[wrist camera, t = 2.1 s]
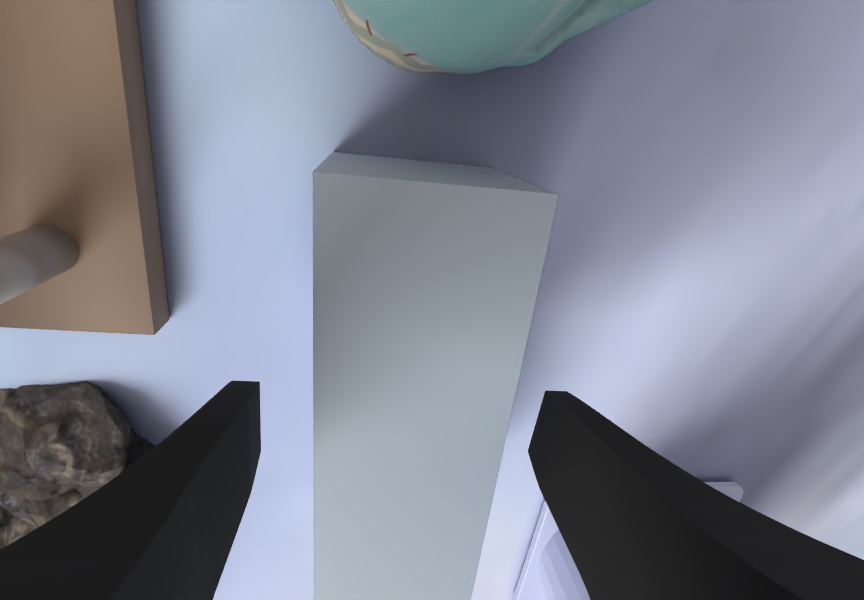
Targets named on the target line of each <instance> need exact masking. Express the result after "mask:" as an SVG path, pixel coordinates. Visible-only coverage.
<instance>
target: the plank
mask: <svg viewBox="0 0 864 600" xmlns="http://www.w3.org/2000/svg"><path fill="white" fill-rule="evenodd" d="M558 197H559V194H557V193H554V192H552V191H549V190H547V189H544V188H542V187H539V186H537V185H534V184H532V183H529V182H526V181H524V180H521V179H519V178H516V177H514V176H511V175H509V174H506V173H504V172H501V171H499V170H496V169H493V168H491V167H481V166H471V165H461V164H451V163H441V162H431V161H421V160H411V159H401V158H391V157H381V156H371V155H361V154H351V153H341V152H333V153H332V154H331V155H329V156H328V157H327V158H326V159H325V160H324V161H323V162H322V163H321V164H320V165H319V166H318V167H317V168H316V169H315V170H314V171H313V412H314V600H471V596H472V591H473V587H474V582H475V578H476V573H477V569H478V564H479V559H480V555H481V550H482V546H483V541H484V536H485V532H486V527H487V523H488V518H489V513H490V509H491V504H492V500H493V495H494V491H495V486H496V481H497V477H498V472H499V468H500V463H501V458H502V454H503V449H504V445H505V440H506V435H507V431H508V426H509V422H510V417H511V412H512V408H513V403H514V399H515V394H516V390H517V385H518V380H519V376H520V371H521V367H522V362H523V357H524V353H525V348H526V344H527V339H528V334H529V330H530V325H531V321H532V316H533V311H534V307H535V302H536V298H537V293H538V289H539V284H540V279H541V275H542V270H543V266H544V261H545V256H546V252H547V247H548V243H549V238H550V233H551V229H552V224H553V220H554V215H555V210H556V206H557V201H558Z"/></svg>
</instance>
